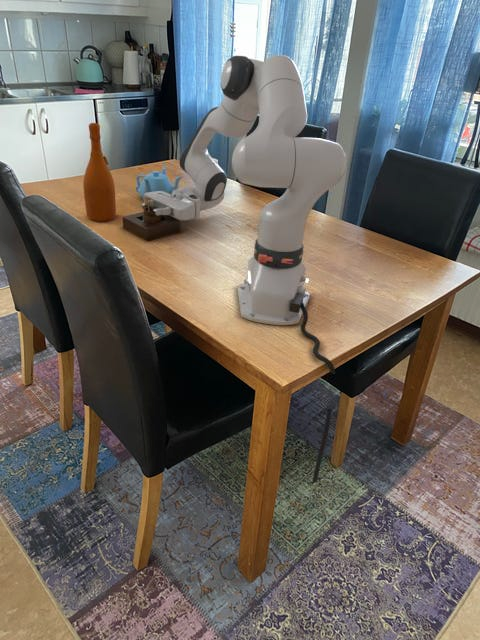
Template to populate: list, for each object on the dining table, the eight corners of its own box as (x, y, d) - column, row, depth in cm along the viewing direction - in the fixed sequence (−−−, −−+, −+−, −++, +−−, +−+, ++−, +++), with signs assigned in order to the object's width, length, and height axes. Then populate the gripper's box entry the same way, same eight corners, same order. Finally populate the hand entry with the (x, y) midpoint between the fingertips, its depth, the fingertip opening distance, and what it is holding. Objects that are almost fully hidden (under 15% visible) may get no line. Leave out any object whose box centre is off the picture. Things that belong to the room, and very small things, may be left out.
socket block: (180, 232, 159) (180, 220, 156) (147, 241, 150) (147, 229, 148) (155, 220, 166) (155, 208, 164) (123, 228, 158) (122, 216, 156)
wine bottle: (119, 221, 162) (113, 126, 147) (88, 223, 159) (79, 126, 143) (114, 211, 170) (107, 120, 154) (84, 213, 167) (75, 120, 151)
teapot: (131, 194, 187) (130, 167, 182) (167, 190, 194) (167, 164, 188) (145, 206, 177) (144, 178, 171) (183, 202, 183) (183, 175, 178)
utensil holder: (164, 228, 160) (163, 192, 154) (156, 235, 155) (155, 198, 149) (147, 225, 161) (146, 189, 155) (139, 231, 156) (137, 195, 150)
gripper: (163, 184, 167) (129, 191, 158) (203, 200, 155) (169, 209, 147) (163, 202, 170) (130, 210, 161) (202, 219, 159) (169, 228, 150)
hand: (149, 209), depth 154 cm, fingers closed on utensil holder, 5 cm apart
